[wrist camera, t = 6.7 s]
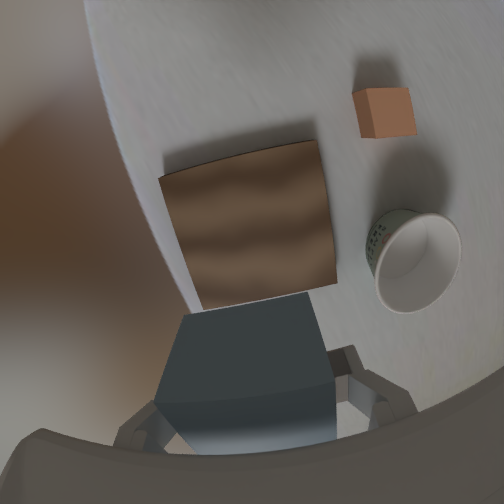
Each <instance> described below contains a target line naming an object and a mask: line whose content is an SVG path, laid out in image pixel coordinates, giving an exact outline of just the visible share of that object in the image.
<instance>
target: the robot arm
mask: <svg viewBox="0 0 504 504" xmlns="http://www.w3.org/2000/svg"><path fill="white" fill-rule="evenodd" d="M327 355H328V358H329V361H330V365H331V368H332V371H333V375H334V378H335V384H336V403H339V402H344V401H349V402H350V403H351V404H352V405H353V406H355V407H356V408H357V409H358V410H360V411H361V412H362V413H363V414H365V415H366V416H367V417H368V418H370V422H369V427H368V431H365V432H362V433H359V434H355V435H352V436H348V437H344V438H340V439H336V440H332V441H327V442H323V443H318V444H313V445H308V446H302V447H296V448H290V449H283V450H276V451H267V452H257V453H245V454H226V455H188V454H169V453H167V452H166V451H165V450H164V449H163V448H164V447H165V446H166V445H167V444H168V442H169V441H170V440H171V439H172V438H173V436H174V435H175V434H176V433H177V431H176V430H175V429H174V428H173V427H172V426H171V424H170V423H169V422H168V421H167V420H166V418H165V417H164V416H163V415H162V413H161V412H160V411H159V410H158V408H157V407H156V406H155V404H154V403H153V402H154V400H151V401H150V402H149V403H148V404H146V405H145V406H144V407H143V408H142V409H141V410H139V411H138V412H137V413H136V414H135V415H134V416H132V417H131V418H130V419H129V420H128V421H126V422H125V423H124V424H123V425H122V426H121V427H120V428H119V430H118V433H117V436H116V438H115V441H114V444H113V446H108V445H103V444H99V443H94V442H90V441H85V440H81V439H77V438H74V437H70V436H66V435H63V434H60V433H57V432H53V431H51V430H48V429H44V428H41V429H38V430H36V431H34V432H33V433H31V434H30V435H28V436H27V437H25V438H24V439H22V440H21V441H20V442H19V444H18V445H17V446H16V448H15V450H14V451H13V453H12V455H11V457H10V458H9V460H8V462H7V464H6V466H5V467H4V469H3V472H2V474H1V476H0V504H504V366H503V367H501V368H500V369H498V370H497V371H495V372H494V373H492V374H491V375H489V376H488V377H486V378H484V379H483V380H481V381H479V382H478V383H476V384H474V385H473V386H471V387H469V388H467V389H466V390H464V391H462V392H460V393H458V394H456V395H454V396H453V397H451V398H449V399H447V400H445V401H443V402H440V403H438V404H436V405H434V406H432V407H430V408H427V409H425V410H423V411H421V412H418V410H417V408H416V406H415V404H414V402H413V400H412V398H411V396H410V394H409V392H408V391H407V390H405V389H403V388H401V387H399V386H397V385H396V384H394V383H392V382H390V381H388V380H386V379H385V378H383V377H381V376H379V375H377V374H376V373H374V372H372V371H370V370H368V369H367V370H365V369H364V367H363V365H362V362H361V360H360V358H359V355H358V353H357V351H356V348H355V346H354V345H349V346H346V347H342V348H338V349H334V350H331V351H327ZM158 387H159V386H158ZM157 390H158V389H157ZM156 393H157V392H156Z"/></svg>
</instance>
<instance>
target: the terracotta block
mask: <svg viewBox="0 0 504 504" xmlns="http://www.w3.org/2000/svg"><path fill="white" fill-rule="evenodd" d="M352 96H353V100H354V105H355V109H356V114H357V118H358V123H359V128H360V133H361V138H375V139H377V138H386V137H397V136H409V135H417V131H416V124H415V119H414V113H413V108H412V103H411V98H410V94H409V89H408V88H365V89H363V90H360V91H357V92H355V93H352Z"/></svg>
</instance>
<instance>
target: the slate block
mask: <svg viewBox="0 0 504 504" xmlns="http://www.w3.org/2000/svg"><path fill="white" fill-rule="evenodd" d="M153 403H154V404H155V406H156V407H157V408H158V410H159V411H160V412H161V413H162V415H163V416H164V417H165V418H166V420H167V421H168V422H169V423H170V424H171V426H172V427H173V428H174V429H175V430H176V431H177V432H178V434H179V435H180V436H181V437H182V438H183V439H184V440H185V442H187V444H188V445H189V446H190V447H191V448H192V449H193V450H194V451H195V452H196V453H197V454H198V455H226V454H245V453H257V452H267V451H276V450H283V449H290V448H296V447H302V446H308V445H313V444H318V443H323V442H327V441H332V440H336V439H337V416H336V384H335V378H334V375H333V371H332V368H331V365H330V361H329V358H328V355H327V351H326V348H325V345H324V342H323V338H322V335H321V332H320V329H319V326H318V322H317V319H316V316H315V313H314V310H313V307H312V304H311V301H310V298H309V295H308V292H304V293H299V294H294V295H290V296H285V297H280V298H275V299H270V300H266V301H260V302H255V303H250V304H245V305H240V306H234V307H229V308H223V309H218V310H212V311H206V312H200V313H194V314H188V315H184V317H183V319H182V322H181V325H180V327H179V330H178V333H177V335H176V339H175V341H174V344H173V347H172V350H171V352H170V355H169V358H168V360H167V364H166V366H165V369H164V372H163V375H162V378H161V381H160V384H159V387H158V390H157V393H156V395H155V399H154V402H153Z"/></svg>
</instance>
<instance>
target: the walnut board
mask: <svg viewBox="0 0 504 504" xmlns="http://www.w3.org/2000/svg"><path fill="white" fill-rule="evenodd" d="M158 180H159V183H160V187H161V190H162V193H163V196H164V200H165V203H166V206H167V209H168V212H169V215H170V218H171V221H172V224H173V227H174V230H175V233H176V236H177V239H178V242H179V245H180V248H181V251H182V254H183V256H184V259H185V262H186V265H187V268H188V270H189V273H190V276H191V278H192V281H193V284H194V286H195V289H196V292H197V294H198V297H199V299H200V302H201V304H202V307H203V310H207V309H212V308H218V307H224V306H230V305H235V304H240V303H246V302H251V301H256V300H261V299H267V298H272V297H276V296H281V295H286V294H291V293H296V292H300V291H305V290H309V289H314V288H318V287H323V286H327V285H332V284H336V283H338V282H337V272H336V262H335V252H334V244H333V235H332V228H331V220H330V213H329V206H328V200H327V193H326V187H325V181H324V175H323V170H322V164H321V159H320V154H319V149H318V144H317V140H308V141H302V142H297V143H291V144H286V145H281V146H276V147H271V148H266V149H261V150H257V151H252V152H248V153H244V154H239V155H235V156H231V157H227V158H223V159H219V160H216V161H212V162H208V163H204V164H201V165H197V166H194V167H190V168H187V169H183V170H180V171H177V172H174V173H170V174H167V175H164V176H162V177H160V178H158Z"/></svg>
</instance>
